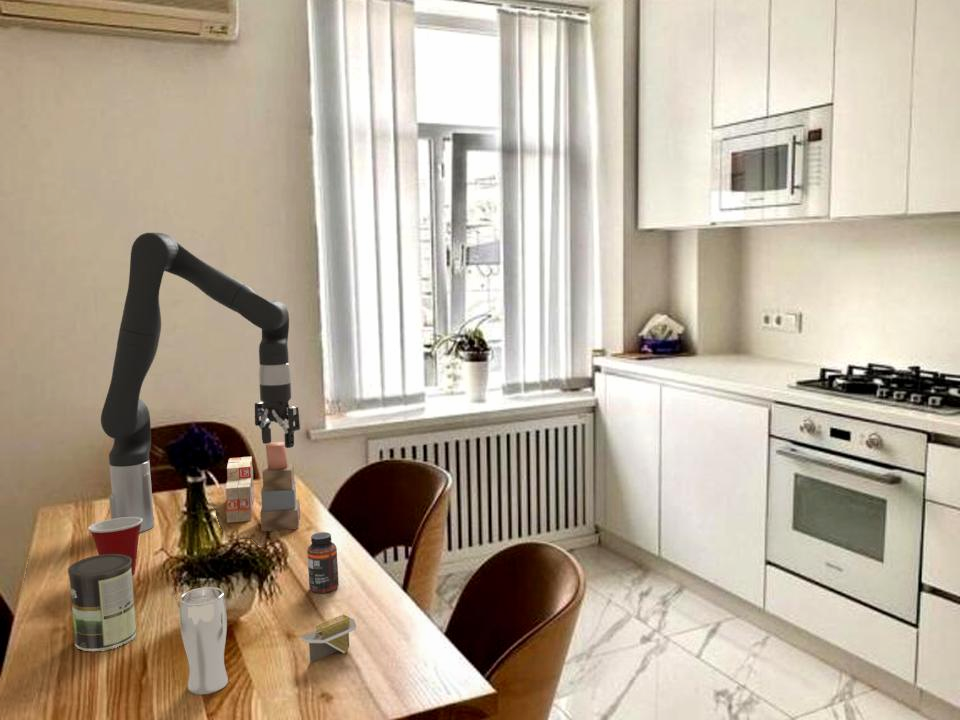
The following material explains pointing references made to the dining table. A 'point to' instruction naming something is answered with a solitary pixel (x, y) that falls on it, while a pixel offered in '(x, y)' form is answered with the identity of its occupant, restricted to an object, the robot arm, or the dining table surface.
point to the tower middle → (278, 499)
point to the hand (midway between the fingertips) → (278, 445)
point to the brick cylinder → (276, 455)
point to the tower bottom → (280, 519)
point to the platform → (329, 637)
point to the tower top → (278, 478)
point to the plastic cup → (117, 537)
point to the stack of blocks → (239, 489)
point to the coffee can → (102, 602)
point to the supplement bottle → (322, 563)
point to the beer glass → (204, 638)
